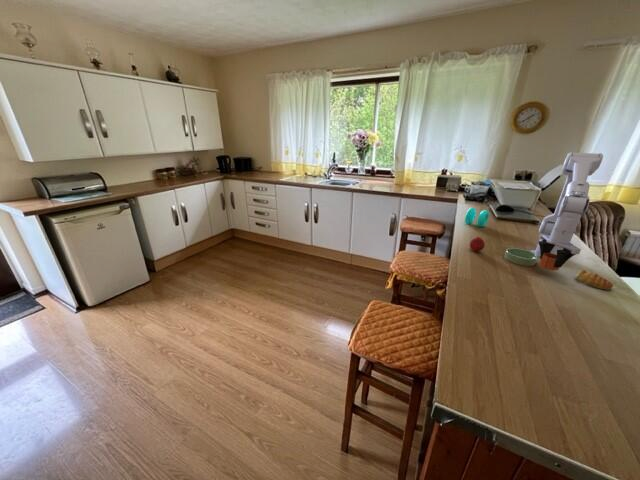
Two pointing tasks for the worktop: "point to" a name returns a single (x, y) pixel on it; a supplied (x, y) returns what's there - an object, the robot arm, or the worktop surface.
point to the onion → (477, 244)
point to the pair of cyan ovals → (481, 218)
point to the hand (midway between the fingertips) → (550, 263)
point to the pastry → (593, 280)
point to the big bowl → (521, 256)
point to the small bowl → (548, 261)
